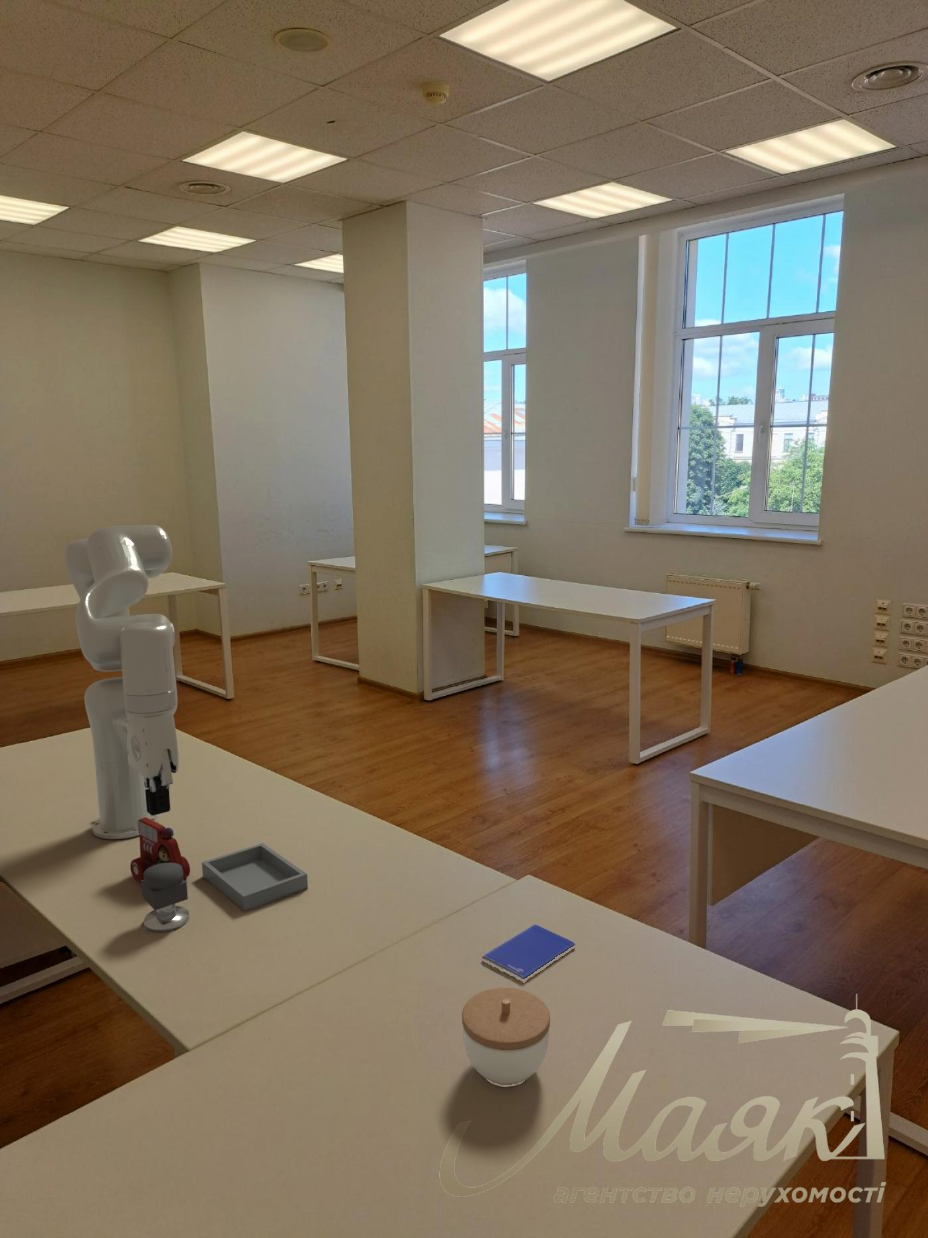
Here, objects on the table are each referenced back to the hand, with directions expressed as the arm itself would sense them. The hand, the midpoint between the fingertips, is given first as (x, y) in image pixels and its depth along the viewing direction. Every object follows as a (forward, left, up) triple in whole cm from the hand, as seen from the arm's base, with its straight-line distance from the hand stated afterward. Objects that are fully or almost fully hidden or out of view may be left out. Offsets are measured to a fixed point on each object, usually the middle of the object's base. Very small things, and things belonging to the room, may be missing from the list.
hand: (158, 811), depth 137 cm
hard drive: (+46, +38, -20) cm, 63 cm away
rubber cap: (0, 0, -15) cm, 15 cm away
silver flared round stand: (0, 0, -19) cm, 19 cm away
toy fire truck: (-15, +5, -19) cm, 25 cm away
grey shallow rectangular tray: (-3, +17, -19) cm, 26 cm away
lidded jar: (+62, +18, -19) cm, 67 cm away
